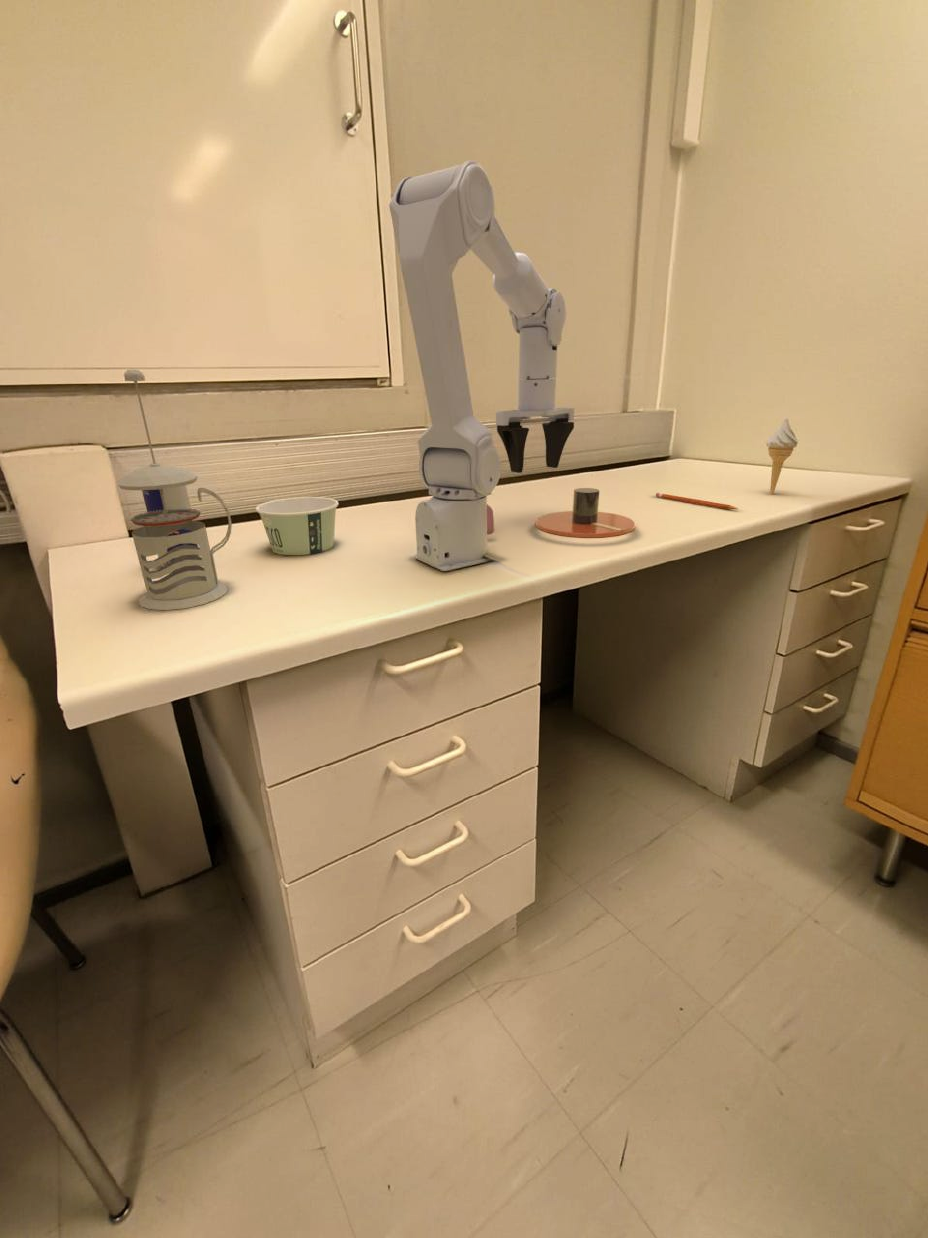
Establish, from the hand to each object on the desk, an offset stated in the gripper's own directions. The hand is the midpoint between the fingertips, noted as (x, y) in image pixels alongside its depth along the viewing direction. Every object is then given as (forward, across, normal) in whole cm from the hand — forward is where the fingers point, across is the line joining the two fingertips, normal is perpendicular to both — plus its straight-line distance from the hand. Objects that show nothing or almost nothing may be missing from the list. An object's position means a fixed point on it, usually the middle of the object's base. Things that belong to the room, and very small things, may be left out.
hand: (534, 469), depth 92 cm
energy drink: (+10, -53, +14) cm, 56 cm away
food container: (+10, -36, +12) cm, 39 cm away
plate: (+8, +4, -8) cm, 12 cm away
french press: (+10, -54, 0) cm, 55 cm away
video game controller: (+10, -13, +2) cm, 16 cm away
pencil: (+10, +36, -6) cm, 38 cm away
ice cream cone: (+10, +56, -10) cm, 58 cm away
